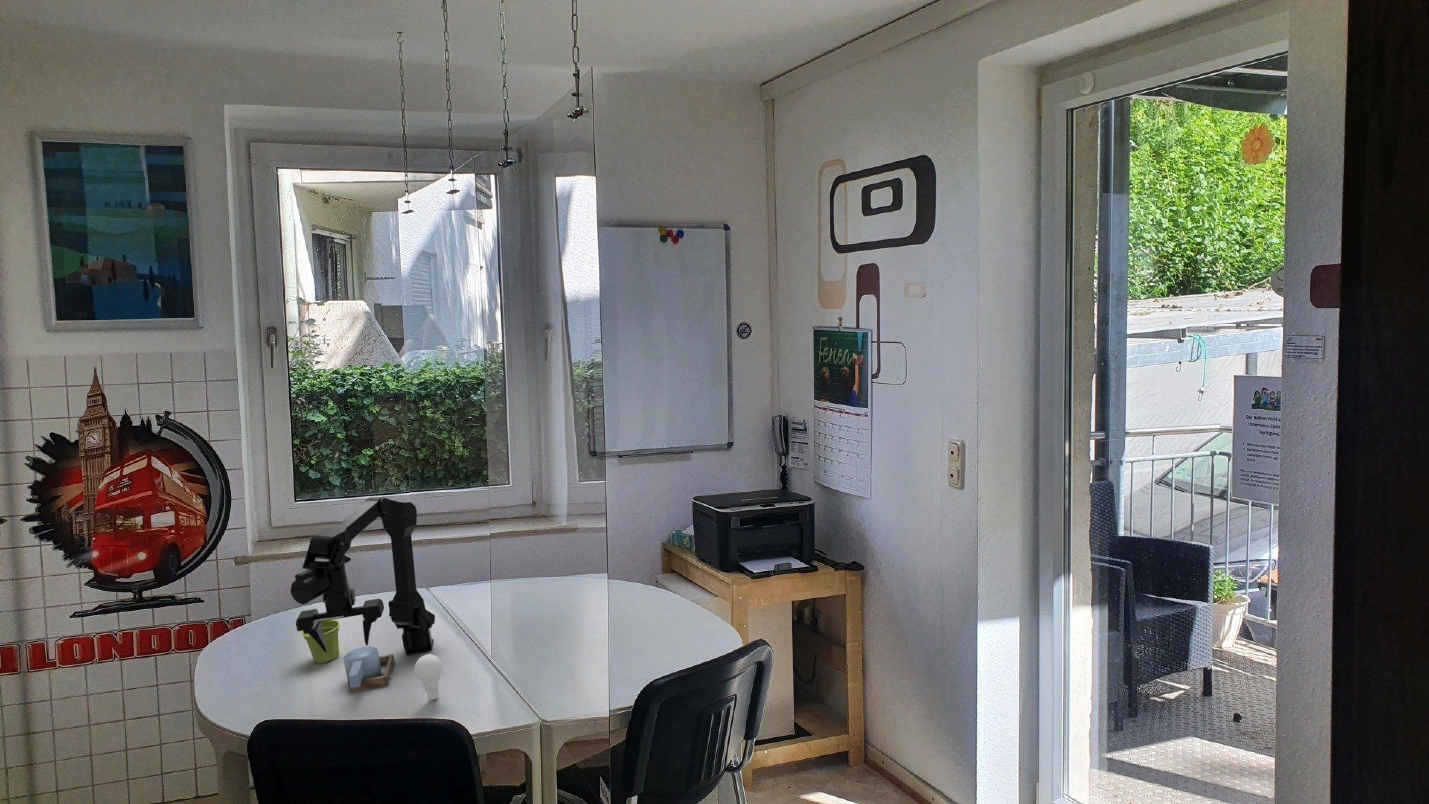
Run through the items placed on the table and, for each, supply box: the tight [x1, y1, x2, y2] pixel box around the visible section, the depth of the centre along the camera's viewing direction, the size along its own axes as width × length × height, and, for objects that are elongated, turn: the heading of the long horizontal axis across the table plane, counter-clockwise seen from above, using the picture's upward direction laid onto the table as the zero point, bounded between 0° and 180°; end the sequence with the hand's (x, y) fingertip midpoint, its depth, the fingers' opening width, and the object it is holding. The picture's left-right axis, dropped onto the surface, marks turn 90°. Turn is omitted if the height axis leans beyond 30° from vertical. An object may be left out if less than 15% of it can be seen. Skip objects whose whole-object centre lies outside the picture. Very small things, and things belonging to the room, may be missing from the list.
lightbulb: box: [414, 653, 443, 701], centre depth 222 cm, size 6×6×11 cm
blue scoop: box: [343, 645, 383, 688], centre depth 234 cm, size 16×8×6 cm, turn 11°
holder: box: [348, 653, 396, 693], centre depth 238 cm, size 9×13×2 cm
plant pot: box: [300, 619, 341, 664], centre depth 250 cm, size 9×9×9 cm
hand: (346, 648), depth 227 cm, fingers open, 9 cm apart
